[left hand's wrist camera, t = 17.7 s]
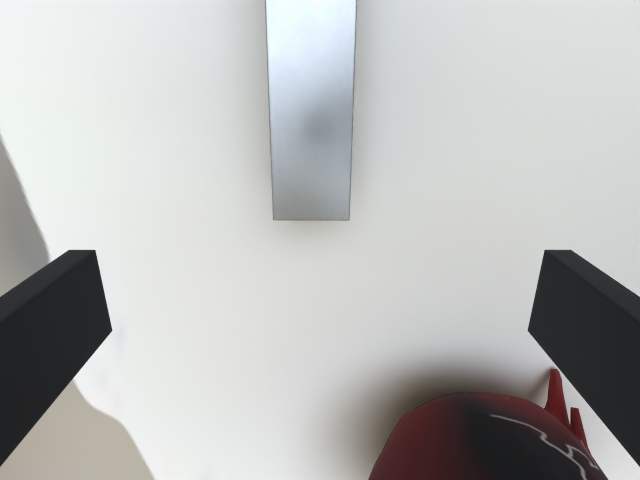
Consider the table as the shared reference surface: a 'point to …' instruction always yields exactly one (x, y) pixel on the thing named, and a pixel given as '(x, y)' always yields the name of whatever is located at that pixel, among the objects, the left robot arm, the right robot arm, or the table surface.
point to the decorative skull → (489, 440)
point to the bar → (311, 106)
